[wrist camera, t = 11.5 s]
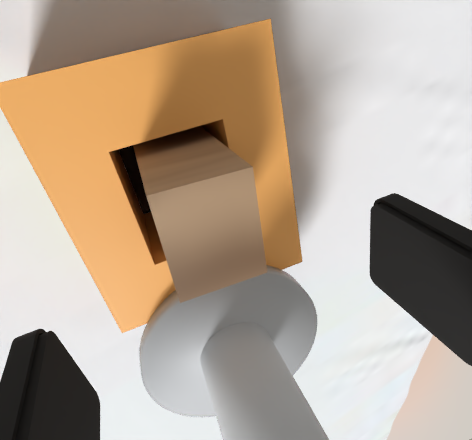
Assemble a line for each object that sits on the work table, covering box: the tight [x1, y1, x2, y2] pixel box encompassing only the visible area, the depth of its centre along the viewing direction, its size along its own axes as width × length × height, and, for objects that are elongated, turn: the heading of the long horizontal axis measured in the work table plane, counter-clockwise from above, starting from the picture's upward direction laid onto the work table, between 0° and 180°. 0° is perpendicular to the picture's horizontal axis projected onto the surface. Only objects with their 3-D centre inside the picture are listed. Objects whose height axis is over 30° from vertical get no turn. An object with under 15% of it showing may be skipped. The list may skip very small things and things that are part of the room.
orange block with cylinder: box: [0, 19, 329, 440], centre depth 19 cm, size 24×12×16 cm, turn 12°
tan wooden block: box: [133, 126, 267, 303], centre depth 18 cm, size 5×4×12 cm
